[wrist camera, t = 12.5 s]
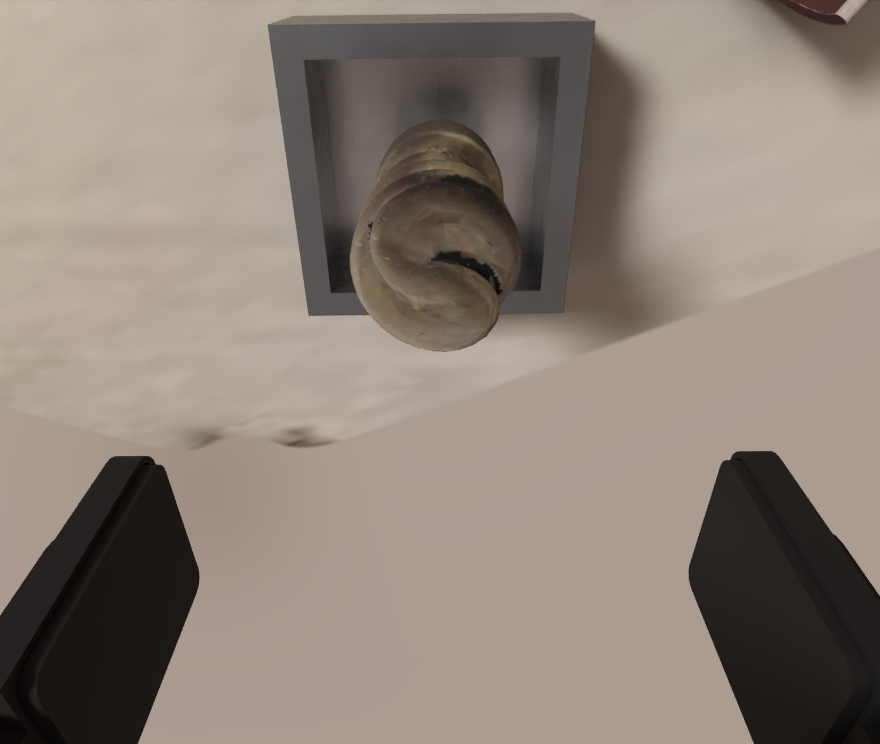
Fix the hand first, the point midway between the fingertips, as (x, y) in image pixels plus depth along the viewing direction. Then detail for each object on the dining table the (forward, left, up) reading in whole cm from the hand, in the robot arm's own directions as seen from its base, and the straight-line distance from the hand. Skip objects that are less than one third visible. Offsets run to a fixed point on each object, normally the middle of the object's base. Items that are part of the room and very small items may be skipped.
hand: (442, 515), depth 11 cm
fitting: (0, 0, -24) cm, 24 cm away
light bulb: (0, 0, -24) cm, 24 cm away
